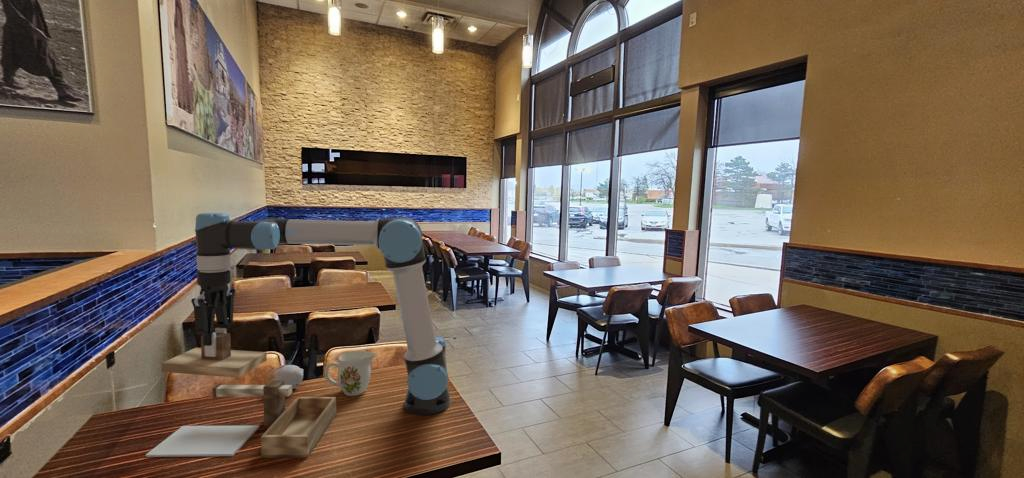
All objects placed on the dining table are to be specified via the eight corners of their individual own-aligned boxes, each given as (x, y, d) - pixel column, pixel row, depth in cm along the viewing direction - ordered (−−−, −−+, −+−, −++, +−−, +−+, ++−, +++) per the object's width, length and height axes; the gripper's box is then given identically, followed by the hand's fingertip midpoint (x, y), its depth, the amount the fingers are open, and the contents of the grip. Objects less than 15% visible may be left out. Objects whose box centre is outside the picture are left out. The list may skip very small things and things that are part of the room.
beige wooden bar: (292, 393, 132) (292, 383, 131) (288, 398, 129) (287, 388, 128) (219, 393, 130) (219, 383, 130) (212, 398, 127) (212, 388, 127)
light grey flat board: (259, 427, 128) (259, 425, 127) (232, 456, 114) (232, 453, 114) (182, 427, 126) (182, 425, 126) (145, 456, 112) (145, 454, 112)
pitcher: (330, 385, 156) (329, 349, 155) (380, 384, 158) (380, 348, 157) (320, 399, 145) (319, 361, 144) (374, 398, 147) (374, 360, 146)
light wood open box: (336, 414, 136) (335, 377, 135) (307, 457, 114) (307, 413, 113) (274, 415, 135) (273, 377, 133) (234, 458, 113) (232, 413, 111)
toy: (277, 393, 158) (267, 403, 144) (267, 371, 158) (257, 379, 144) (313, 376, 162) (307, 384, 148) (304, 355, 162) (297, 361, 148)
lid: (196, 355, 124) (195, 325, 123) (266, 360, 123) (266, 330, 122) (161, 372, 113) (160, 339, 112) (238, 377, 112) (238, 344, 111)
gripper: (222, 264, 124) (224, 342, 126) (175, 274, 107) (178, 364, 110) (247, 265, 123) (248, 344, 126) (204, 276, 107) (206, 365, 109)
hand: (216, 353), depth 118 cm, fingers closed on lid, 3 cm apart
